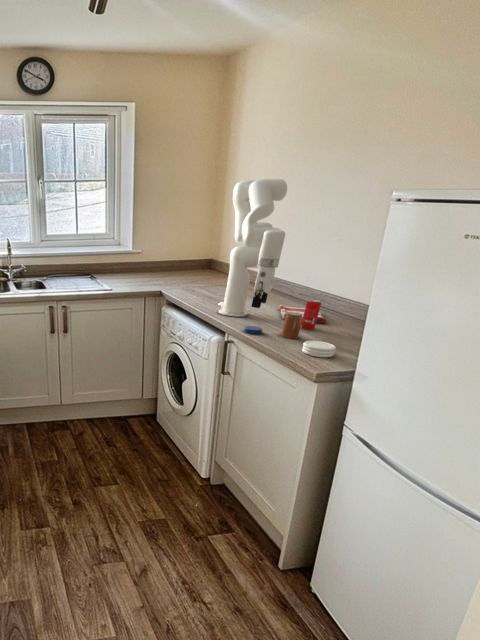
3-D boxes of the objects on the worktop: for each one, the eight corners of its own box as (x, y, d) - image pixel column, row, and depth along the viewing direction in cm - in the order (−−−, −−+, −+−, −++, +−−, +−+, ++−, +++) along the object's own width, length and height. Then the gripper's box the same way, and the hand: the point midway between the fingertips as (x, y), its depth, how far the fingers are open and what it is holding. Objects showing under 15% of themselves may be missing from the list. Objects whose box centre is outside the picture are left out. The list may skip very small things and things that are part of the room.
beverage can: (297, 327, 197) (304, 300, 192) (305, 325, 199) (312, 298, 194) (309, 330, 193) (316, 302, 188) (317, 328, 195) (324, 301, 190)
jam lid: (265, 333, 189) (266, 329, 188) (253, 335, 187) (254, 331, 186) (252, 329, 194) (253, 325, 194) (240, 330, 192) (241, 326, 191)
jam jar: (277, 335, 186) (283, 312, 183) (288, 333, 188) (293, 311, 185) (290, 339, 181) (296, 316, 178) (301, 337, 183) (307, 314, 180)
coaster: (296, 352, 166) (299, 343, 165) (308, 347, 172) (310, 338, 171) (326, 360, 159) (329, 350, 158) (338, 354, 165) (340, 345, 163)
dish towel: (283, 320, 208) (284, 314, 207) (278, 308, 228) (279, 303, 227) (325, 323, 202) (327, 318, 201) (316, 312, 222) (318, 306, 221)
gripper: (273, 266, 171) (263, 310, 178) (283, 260, 183) (273, 302, 191) (252, 264, 175) (243, 307, 183) (262, 259, 188) (254, 299, 195)
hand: (258, 304), depth 187 cm, fingers open, 9 cm apart
